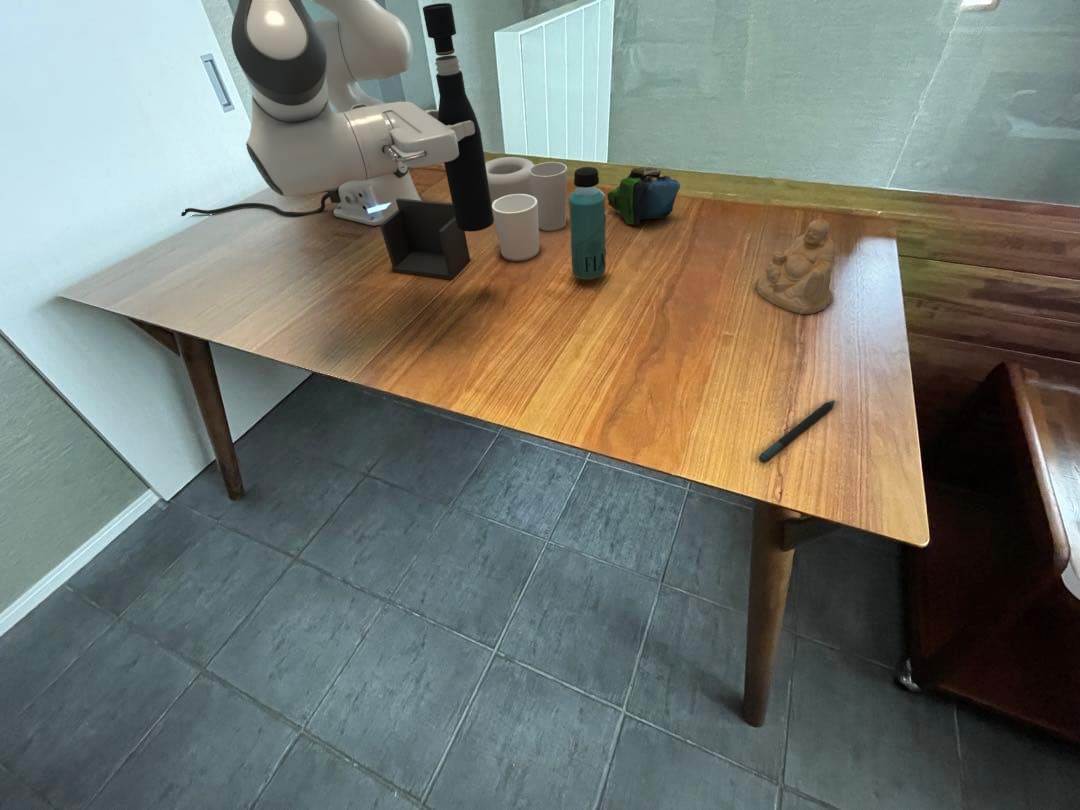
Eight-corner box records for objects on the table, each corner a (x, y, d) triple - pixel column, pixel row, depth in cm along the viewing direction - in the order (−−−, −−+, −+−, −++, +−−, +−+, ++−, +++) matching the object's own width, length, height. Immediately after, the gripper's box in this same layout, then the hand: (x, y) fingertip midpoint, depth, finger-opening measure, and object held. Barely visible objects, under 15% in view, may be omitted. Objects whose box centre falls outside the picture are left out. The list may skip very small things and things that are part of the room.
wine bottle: (479, 234, 87) (440, 10, 66) (449, 227, 89) (402, 10, 69) (501, 218, 90) (470, 1, 69) (471, 212, 93) (434, 1, 72)
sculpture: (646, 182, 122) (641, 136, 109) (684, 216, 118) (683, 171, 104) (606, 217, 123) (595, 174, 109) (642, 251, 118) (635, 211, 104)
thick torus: (527, 207, 125) (524, 179, 120) (469, 204, 129) (464, 177, 124) (545, 182, 135) (542, 155, 131) (490, 180, 139) (486, 154, 134)
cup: (570, 215, 120) (568, 160, 112) (568, 231, 114) (565, 175, 106) (536, 216, 121) (531, 162, 113) (532, 232, 115) (526, 177, 107)
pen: (836, 406, 71) (839, 399, 70) (763, 464, 65) (765, 458, 64) (829, 402, 72) (832, 395, 71) (756, 459, 66) (758, 453, 65)
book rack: (392, 271, 108) (375, 215, 100) (412, 253, 113) (397, 198, 105) (452, 280, 104) (438, 222, 95) (470, 260, 109) (459, 203, 100)
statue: (879, 231, 82) (846, 233, 77) (836, 313, 90) (804, 320, 85) (811, 208, 90) (777, 208, 85) (777, 285, 98) (744, 290, 92)
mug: (550, 248, 109) (546, 200, 102) (520, 266, 105) (514, 217, 98) (513, 235, 115) (507, 188, 108) (483, 252, 111) (475, 204, 104)
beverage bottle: (583, 290, 97) (579, 181, 83) (565, 275, 101) (559, 169, 87) (612, 280, 99) (614, 170, 85) (594, 265, 103) (592, 159, 89)
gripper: (388, 137, 66) (488, 112, 70) (350, 102, 79) (435, 84, 83) (402, 187, 70) (494, 161, 74) (363, 146, 84) (443, 126, 88)
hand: (463, 120), depth 79 cm, fingers closed on wine bottle, 6 cm apart
